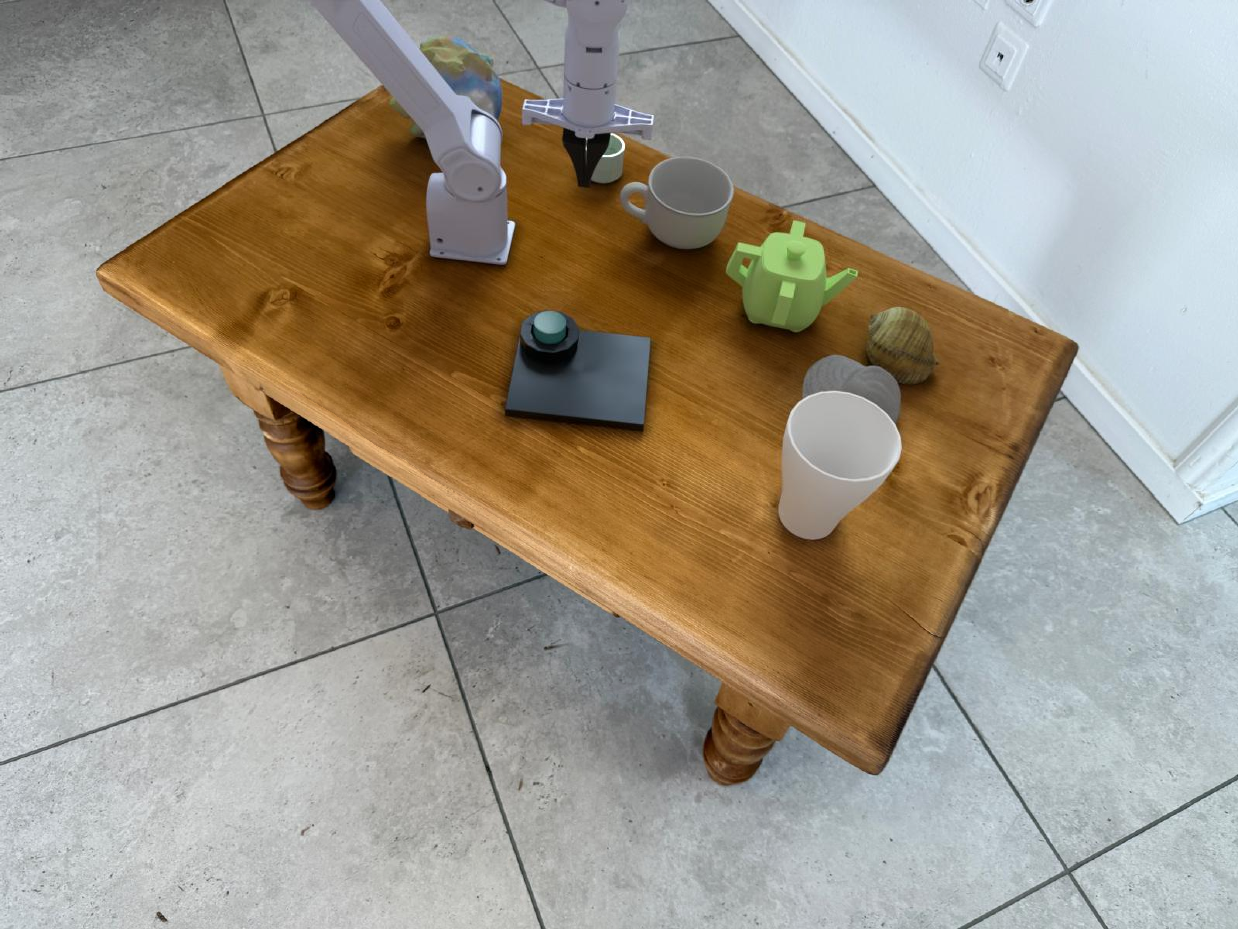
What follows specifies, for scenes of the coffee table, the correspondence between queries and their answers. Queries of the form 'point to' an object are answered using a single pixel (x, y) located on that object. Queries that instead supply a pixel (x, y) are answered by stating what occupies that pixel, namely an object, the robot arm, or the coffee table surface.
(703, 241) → the teacup
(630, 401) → the scale
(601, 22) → the robot arm
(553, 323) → the button
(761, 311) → the teapot
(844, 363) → the seashell
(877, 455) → the cup
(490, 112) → the decorative rock
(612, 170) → the pale green handleless cup
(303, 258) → the coffee table surface
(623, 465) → the coffee table surface
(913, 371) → the seashell
